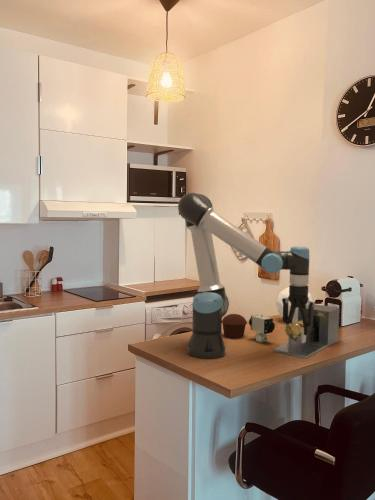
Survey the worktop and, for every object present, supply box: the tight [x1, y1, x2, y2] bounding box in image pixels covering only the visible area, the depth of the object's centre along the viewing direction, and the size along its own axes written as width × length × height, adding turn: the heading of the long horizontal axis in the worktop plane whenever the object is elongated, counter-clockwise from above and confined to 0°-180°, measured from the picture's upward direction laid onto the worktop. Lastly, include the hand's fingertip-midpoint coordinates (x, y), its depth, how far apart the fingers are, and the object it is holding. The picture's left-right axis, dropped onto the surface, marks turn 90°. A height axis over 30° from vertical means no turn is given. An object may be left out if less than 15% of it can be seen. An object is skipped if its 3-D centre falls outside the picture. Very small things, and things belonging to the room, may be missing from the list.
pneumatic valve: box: [248, 313, 276, 344], centre depth 194 cm, size 6×12×12 cm, turn 35°
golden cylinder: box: [284, 320, 313, 338], centre depth 182 cm, size 6×15×6 cm, turn 141°
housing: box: [272, 303, 340, 359], centre depth 188 cm, size 14×34×15 cm, turn 141°
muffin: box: [222, 313, 248, 340], centre depth 203 cm, size 12×11×10 cm
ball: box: [275, 286, 314, 319], centre depth 232 cm, size 19×20×20 cm
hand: (297, 341), depth 181 cm, fingers closed on golden cylinder, 5 cm apart
